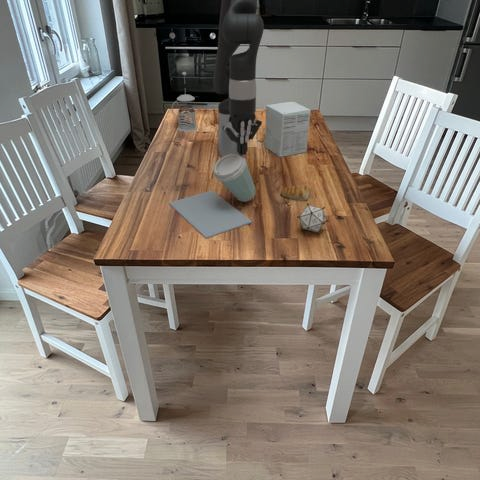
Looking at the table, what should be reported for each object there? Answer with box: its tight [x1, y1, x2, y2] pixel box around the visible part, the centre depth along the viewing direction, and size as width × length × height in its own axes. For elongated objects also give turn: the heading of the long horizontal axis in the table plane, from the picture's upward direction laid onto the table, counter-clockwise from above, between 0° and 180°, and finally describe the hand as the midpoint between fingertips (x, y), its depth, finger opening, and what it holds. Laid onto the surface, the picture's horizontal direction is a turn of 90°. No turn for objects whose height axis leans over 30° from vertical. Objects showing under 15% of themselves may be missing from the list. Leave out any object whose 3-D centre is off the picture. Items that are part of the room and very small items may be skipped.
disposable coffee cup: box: [213, 154, 256, 203], centre depth 129 cm, size 11×11×15 cm
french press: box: [171, 71, 199, 133], centre depth 186 cm, size 10×12×25 cm
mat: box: [168, 190, 253, 239], centre depth 129 cm, size 24×16×1 cm, turn 34°
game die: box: [296, 202, 329, 236], centre depth 119 cm, size 9×8×10 cm
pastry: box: [280, 184, 310, 202], centre depth 138 cm, size 9×7×4 cm
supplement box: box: [264, 101, 312, 158], centre depth 168 cm, size 13×13×18 cm
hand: (242, 154), depth 125 cm, fingers closed
